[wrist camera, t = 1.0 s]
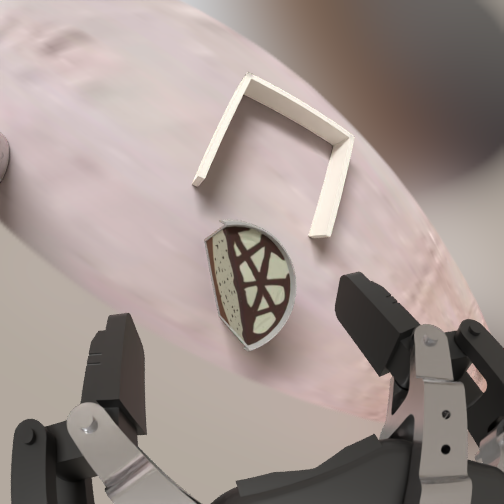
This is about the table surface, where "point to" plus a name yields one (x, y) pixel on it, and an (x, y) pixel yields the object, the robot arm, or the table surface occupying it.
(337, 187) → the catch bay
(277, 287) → the food container
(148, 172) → the table surface
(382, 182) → the table surface
